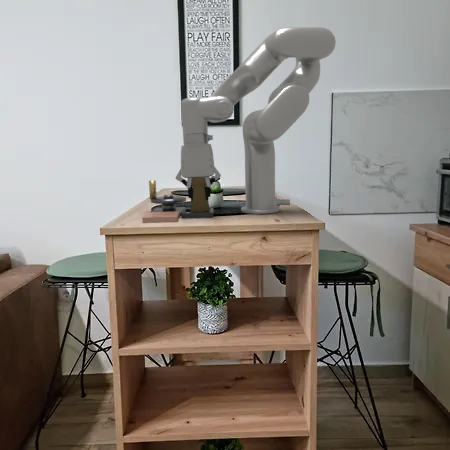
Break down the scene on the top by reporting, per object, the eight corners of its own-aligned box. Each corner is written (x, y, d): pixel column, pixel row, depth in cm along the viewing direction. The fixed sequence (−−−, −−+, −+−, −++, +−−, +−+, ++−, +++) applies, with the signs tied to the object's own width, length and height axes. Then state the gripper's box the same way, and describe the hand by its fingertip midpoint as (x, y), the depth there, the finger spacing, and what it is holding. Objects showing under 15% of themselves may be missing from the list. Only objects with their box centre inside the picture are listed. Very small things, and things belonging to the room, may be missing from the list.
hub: (185, 208, 158) (184, 200, 158) (183, 213, 149) (182, 204, 148) (156, 209, 158) (155, 200, 158) (152, 214, 149) (151, 205, 148)
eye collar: (213, 212, 149) (213, 207, 148) (213, 217, 139) (212, 212, 139) (183, 213, 148) (183, 208, 148) (181, 218, 139) (181, 213, 139)
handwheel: (149, 200, 158) (148, 179, 156) (184, 198, 159) (183, 178, 158) (150, 204, 146) (149, 182, 145) (187, 202, 148) (186, 180, 147)
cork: (207, 212, 140) (205, 175, 138) (188, 212, 141) (186, 176, 139) (211, 208, 146) (210, 174, 144) (193, 209, 147) (191, 174, 145)
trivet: (180, 216, 143) (179, 211, 143) (177, 221, 133) (176, 216, 133) (147, 217, 143) (147, 212, 143) (142, 222, 133) (142, 217, 133)
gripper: (223, 138, 143) (226, 196, 147) (169, 141, 143) (174, 199, 147) (223, 138, 136) (226, 200, 139) (166, 141, 136) (171, 203, 139)
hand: (199, 199), depth 143 cm, fingers closed on cork, 4 cm apart
